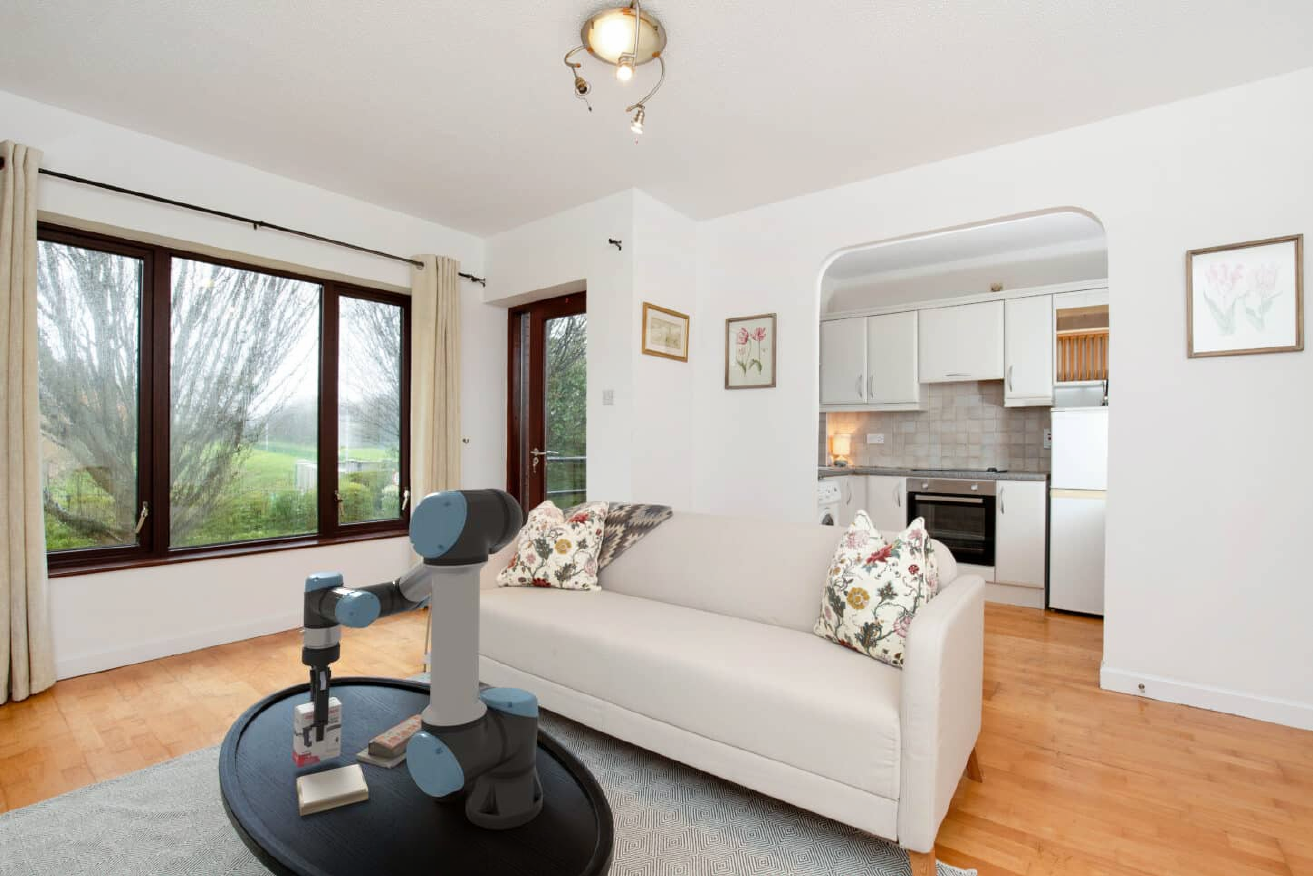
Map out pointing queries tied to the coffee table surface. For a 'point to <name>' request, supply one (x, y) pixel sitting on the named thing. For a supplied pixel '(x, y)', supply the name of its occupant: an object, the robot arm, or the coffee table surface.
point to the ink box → (304, 733)
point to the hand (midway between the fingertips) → (317, 748)
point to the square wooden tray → (331, 789)
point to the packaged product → (391, 744)
